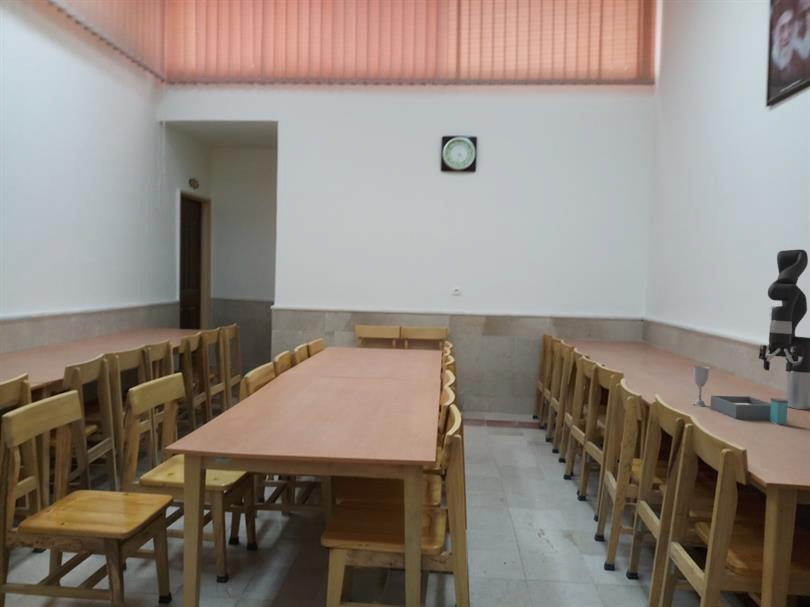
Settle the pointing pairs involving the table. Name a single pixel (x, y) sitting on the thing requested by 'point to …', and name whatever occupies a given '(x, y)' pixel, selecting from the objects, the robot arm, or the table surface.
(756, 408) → the walled box
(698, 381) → the chalice
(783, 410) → the peg
